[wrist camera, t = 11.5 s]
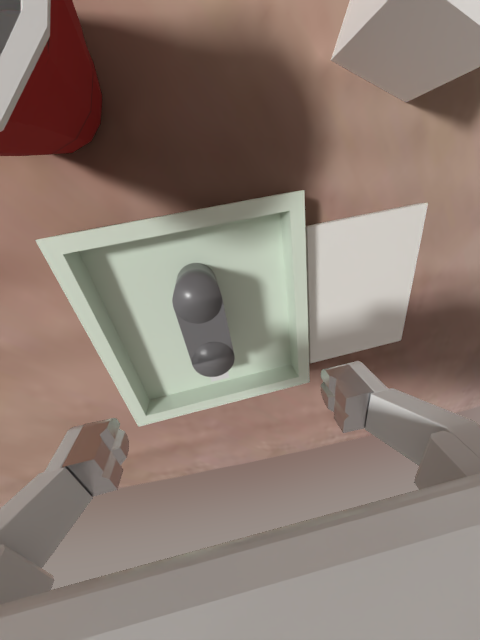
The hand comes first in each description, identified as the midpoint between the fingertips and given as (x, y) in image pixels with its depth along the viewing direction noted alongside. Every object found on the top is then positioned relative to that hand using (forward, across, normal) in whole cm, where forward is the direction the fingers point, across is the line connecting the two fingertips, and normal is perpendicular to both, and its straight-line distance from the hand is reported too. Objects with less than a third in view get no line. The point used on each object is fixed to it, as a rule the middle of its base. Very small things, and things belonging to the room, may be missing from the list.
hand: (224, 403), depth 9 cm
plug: (+11, +1, 0) cm, 11 cm away
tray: (+11, +1, +1) cm, 11 cm away
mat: (+12, -13, +2) cm, 18 cm away
